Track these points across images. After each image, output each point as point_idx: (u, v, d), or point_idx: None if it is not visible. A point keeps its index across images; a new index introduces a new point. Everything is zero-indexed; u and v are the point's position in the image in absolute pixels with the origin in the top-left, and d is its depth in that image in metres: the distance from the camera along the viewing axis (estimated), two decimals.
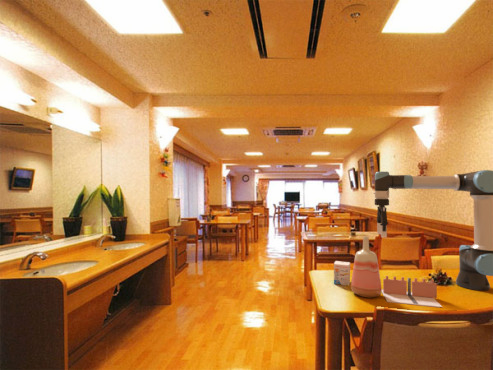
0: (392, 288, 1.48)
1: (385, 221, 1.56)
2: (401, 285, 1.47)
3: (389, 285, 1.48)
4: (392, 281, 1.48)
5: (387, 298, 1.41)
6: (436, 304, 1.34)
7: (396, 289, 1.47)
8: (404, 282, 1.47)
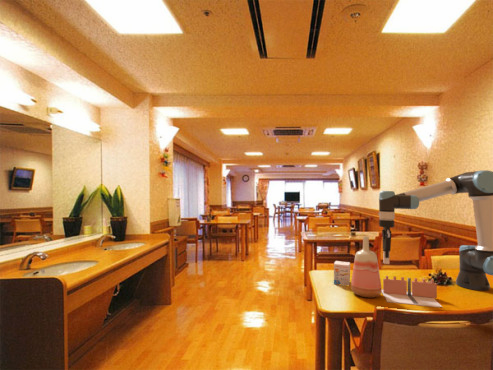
0: (392, 288, 1.48)
1: (388, 249, 1.52)
2: (401, 285, 1.47)
3: (389, 285, 1.48)
4: (392, 281, 1.48)
5: (387, 298, 1.41)
6: (436, 304, 1.34)
7: (396, 289, 1.47)
8: (404, 282, 1.47)
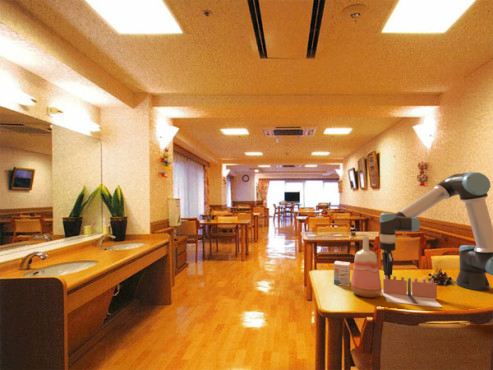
0: (392, 288, 1.48)
1: (390, 272, 1.49)
2: (401, 285, 1.47)
3: (389, 285, 1.48)
4: (392, 281, 1.48)
5: (387, 298, 1.41)
6: (436, 304, 1.34)
7: (396, 289, 1.47)
8: (404, 282, 1.47)
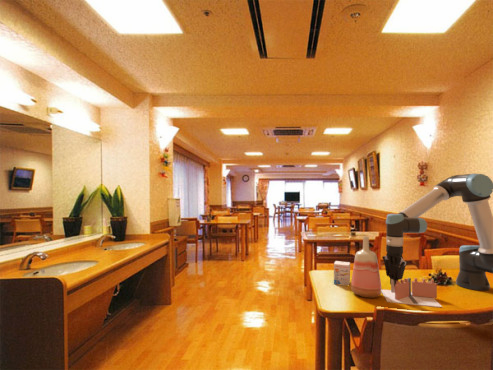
0: (402, 292, 1.42)
1: (401, 277, 1.41)
2: (406, 287, 1.44)
3: (400, 290, 1.41)
4: (402, 285, 1.42)
5: (387, 298, 1.41)
6: (436, 304, 1.34)
7: (404, 292, 1.43)
8: (408, 283, 1.45)
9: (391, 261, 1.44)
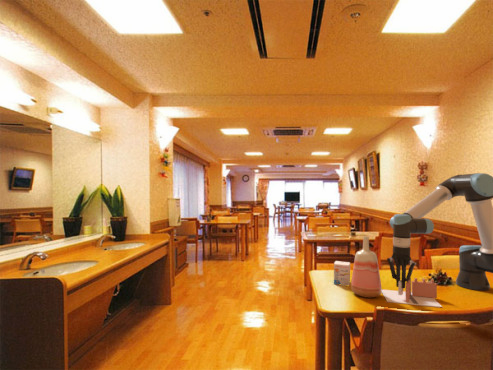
0: (409, 294, 1.40)
1: (409, 278, 1.39)
2: None
3: None
4: (409, 286, 1.40)
5: (387, 298, 1.41)
6: (436, 304, 1.34)
7: (409, 293, 1.41)
8: None
9: (399, 263, 1.41)
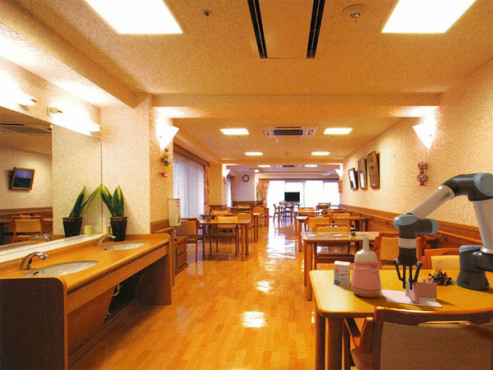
0: None
1: (416, 279, 1.38)
2: None
3: None
4: None
5: (387, 298, 1.41)
6: (436, 304, 1.34)
7: None
8: None
9: (406, 264, 1.38)
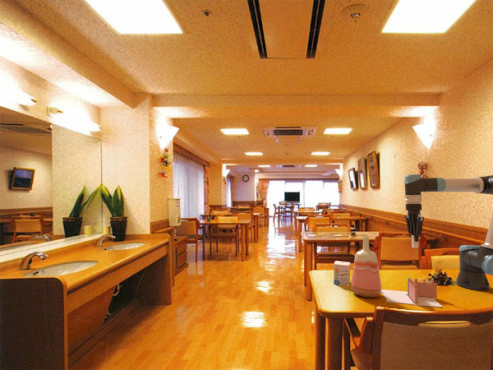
0: None
1: (420, 232, 1.50)
2: None
3: None
4: None
5: (387, 298, 1.41)
6: (436, 304, 1.34)
7: None
8: None
9: (410, 218, 1.55)
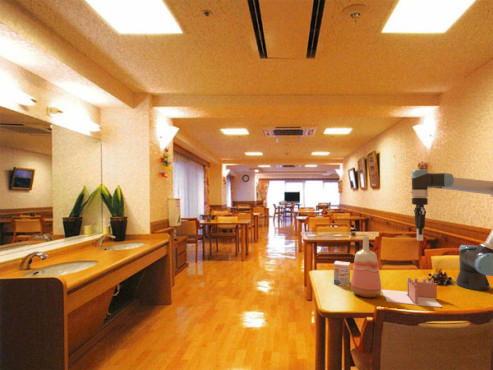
0: None
1: (422, 225, 1.55)
2: None
3: None
4: None
5: (387, 298, 1.41)
6: (436, 304, 1.34)
7: None
8: None
9: (416, 212, 1.60)
